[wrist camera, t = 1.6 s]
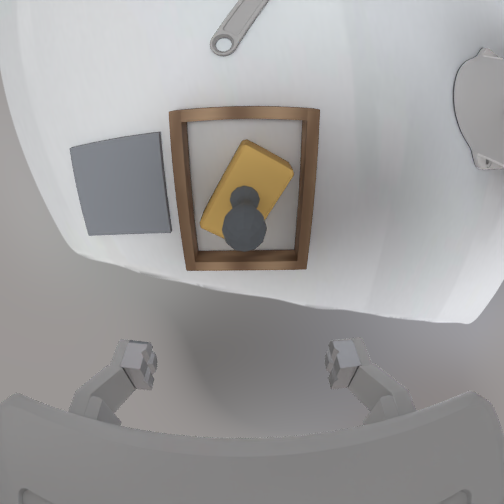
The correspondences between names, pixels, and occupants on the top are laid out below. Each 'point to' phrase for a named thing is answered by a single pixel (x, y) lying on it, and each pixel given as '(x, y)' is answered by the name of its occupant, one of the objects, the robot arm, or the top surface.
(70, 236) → the top surface
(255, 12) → the adjustable wrench
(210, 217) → the rubber stamp
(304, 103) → the top surface
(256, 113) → the wooden frame
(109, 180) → the slate mat
